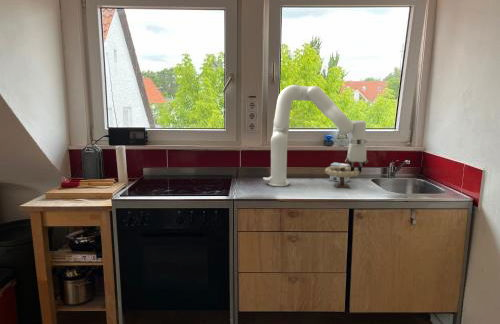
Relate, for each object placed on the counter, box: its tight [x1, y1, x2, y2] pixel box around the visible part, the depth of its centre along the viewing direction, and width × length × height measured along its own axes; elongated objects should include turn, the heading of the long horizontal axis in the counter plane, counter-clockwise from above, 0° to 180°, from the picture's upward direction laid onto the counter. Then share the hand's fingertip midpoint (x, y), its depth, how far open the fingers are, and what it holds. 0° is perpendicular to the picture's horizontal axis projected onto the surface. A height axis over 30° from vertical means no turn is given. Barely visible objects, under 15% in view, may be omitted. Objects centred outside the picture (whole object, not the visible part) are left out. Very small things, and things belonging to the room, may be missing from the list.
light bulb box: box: [329, 162, 351, 183], centre depth 218 cm, size 11×7×11 cm, turn 55°
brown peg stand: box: [334, 167, 350, 189], centre depth 203 cm, size 7×7×11 cm
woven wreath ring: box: [324, 166, 361, 178], centre depth 202 cm, size 19×20×3 cm
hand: (355, 173), depth 202 cm, fingers closed on woven wreath ring, 3 cm apart
